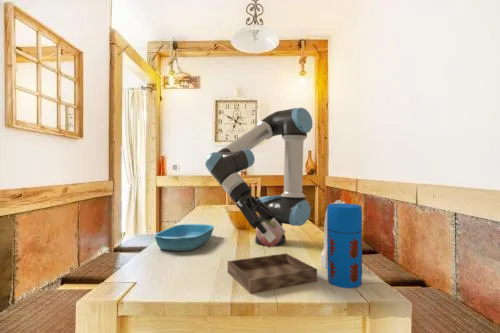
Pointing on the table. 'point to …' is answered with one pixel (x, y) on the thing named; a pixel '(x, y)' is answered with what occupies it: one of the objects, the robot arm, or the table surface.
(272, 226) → the decorative fruit
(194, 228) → the casserole dish
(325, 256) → the decorative vase
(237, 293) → the table surface
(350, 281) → the thermos
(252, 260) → the walnut tray
